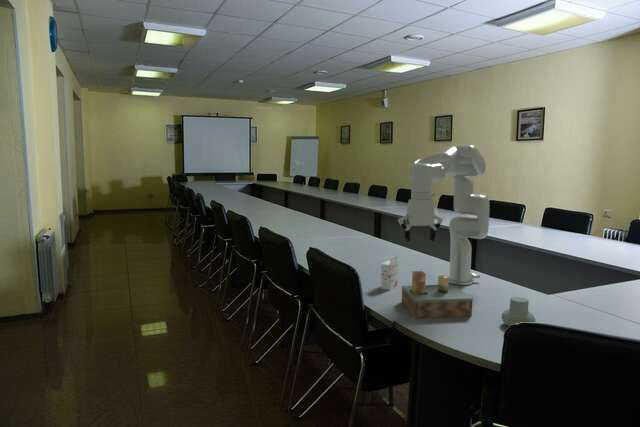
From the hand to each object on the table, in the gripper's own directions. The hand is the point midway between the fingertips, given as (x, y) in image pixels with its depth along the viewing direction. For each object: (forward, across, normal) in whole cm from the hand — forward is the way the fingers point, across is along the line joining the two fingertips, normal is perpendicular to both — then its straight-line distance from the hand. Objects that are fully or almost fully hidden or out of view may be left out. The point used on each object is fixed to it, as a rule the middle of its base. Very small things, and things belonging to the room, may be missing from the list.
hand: (419, 240), depth 166 cm
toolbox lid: (+22, -7, 0) cm, 23 cm away
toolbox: (+28, -7, 0) cm, 29 cm away
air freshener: (+28, -30, +20) cm, 46 cm away
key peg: (+28, 0, 0) cm, 28 cm away
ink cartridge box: (+28, +4, -30) cm, 41 cm away
